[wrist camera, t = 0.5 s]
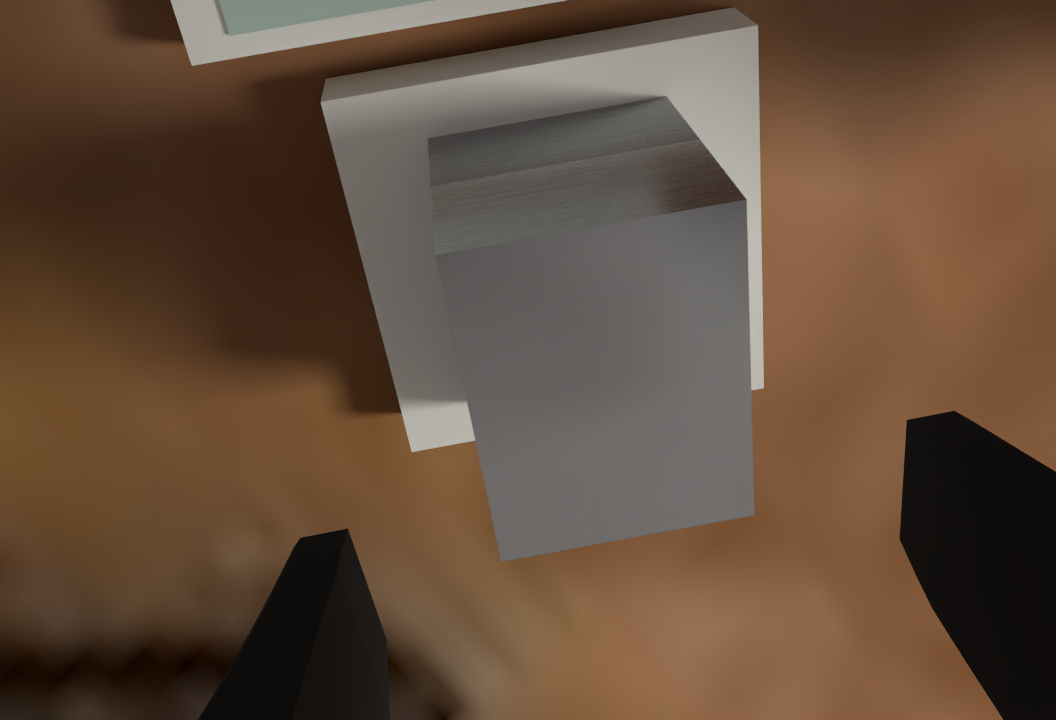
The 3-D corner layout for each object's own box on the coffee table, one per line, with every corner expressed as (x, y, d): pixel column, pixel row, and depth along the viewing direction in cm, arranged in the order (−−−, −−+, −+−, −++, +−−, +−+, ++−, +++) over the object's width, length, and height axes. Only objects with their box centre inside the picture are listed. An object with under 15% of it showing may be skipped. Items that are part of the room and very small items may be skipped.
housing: (666, 96, 18) (746, 199, 14) (684, 364, 21) (754, 515, 17) (427, 138, 18) (435, 254, 14) (481, 401, 21) (501, 561, 17)
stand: (734, 7, 19) (758, 24, 18) (743, 353, 23) (763, 388, 22) (325, 78, 19) (320, 101, 18) (411, 413, 23) (411, 452, 22)
